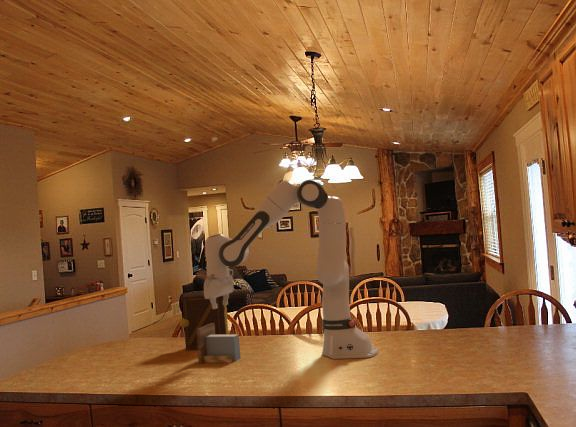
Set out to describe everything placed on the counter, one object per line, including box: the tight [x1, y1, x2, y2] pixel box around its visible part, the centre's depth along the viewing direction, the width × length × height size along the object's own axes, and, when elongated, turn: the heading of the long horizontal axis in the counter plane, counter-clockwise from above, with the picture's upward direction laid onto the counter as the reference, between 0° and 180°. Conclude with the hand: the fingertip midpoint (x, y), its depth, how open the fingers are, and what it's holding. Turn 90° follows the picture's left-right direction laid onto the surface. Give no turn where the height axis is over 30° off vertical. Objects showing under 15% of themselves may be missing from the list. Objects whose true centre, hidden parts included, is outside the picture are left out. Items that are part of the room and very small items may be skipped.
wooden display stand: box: [196, 323, 233, 364], centre depth 222 cm, size 14×13×14 cm
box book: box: [206, 333, 241, 362], centre depth 221 cm, size 13×4×10 cm, turn 70°
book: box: [179, 292, 229, 351], centre depth 247 cm, size 22×8×25 cm, turn 84°
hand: (220, 306), depth 222 cm, fingers open, 8 cm apart
